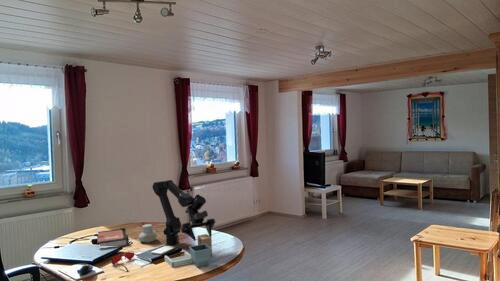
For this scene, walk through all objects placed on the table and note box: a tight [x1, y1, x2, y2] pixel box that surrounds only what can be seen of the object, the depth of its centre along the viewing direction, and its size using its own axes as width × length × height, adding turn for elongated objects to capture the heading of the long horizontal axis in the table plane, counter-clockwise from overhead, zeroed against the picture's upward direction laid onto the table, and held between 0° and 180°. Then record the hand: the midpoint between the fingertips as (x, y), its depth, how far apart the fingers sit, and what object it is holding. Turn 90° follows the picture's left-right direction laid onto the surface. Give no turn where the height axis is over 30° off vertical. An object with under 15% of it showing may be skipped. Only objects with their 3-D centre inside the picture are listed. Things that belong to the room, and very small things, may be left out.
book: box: [96, 227, 130, 247], centre depth 238 cm, size 26×18×5 cm
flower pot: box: [188, 244, 211, 268], centre depth 191 cm, size 9×9×9 cm
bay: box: [164, 251, 194, 268], centre depth 197 cm, size 12×12×2 cm
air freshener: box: [138, 223, 158, 244], centre depth 235 cm, size 11×8×10 cm
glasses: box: [110, 250, 153, 273], centre depth 195 cm, size 14×16×5 cm
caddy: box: [196, 233, 213, 259], centre depth 203 cm, size 7×5×11 cm
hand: (203, 238), depth 205 cm, fingers open, 9 cm apart
